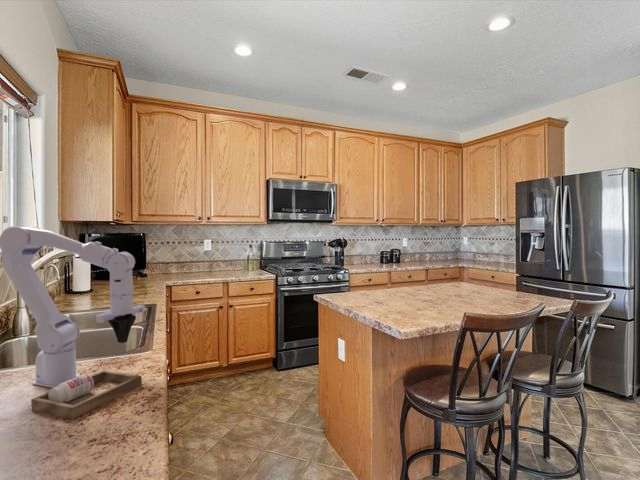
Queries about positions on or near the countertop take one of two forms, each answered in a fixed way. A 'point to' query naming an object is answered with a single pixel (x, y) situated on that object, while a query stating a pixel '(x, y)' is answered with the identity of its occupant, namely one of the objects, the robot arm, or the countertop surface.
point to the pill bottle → (71, 389)
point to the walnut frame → (73, 411)
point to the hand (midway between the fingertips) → (122, 342)
